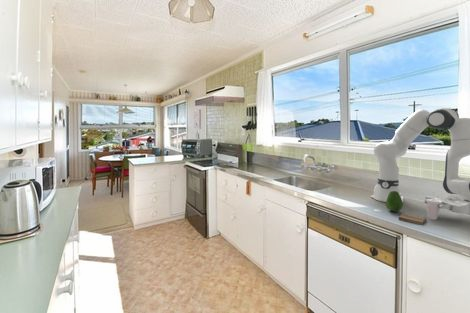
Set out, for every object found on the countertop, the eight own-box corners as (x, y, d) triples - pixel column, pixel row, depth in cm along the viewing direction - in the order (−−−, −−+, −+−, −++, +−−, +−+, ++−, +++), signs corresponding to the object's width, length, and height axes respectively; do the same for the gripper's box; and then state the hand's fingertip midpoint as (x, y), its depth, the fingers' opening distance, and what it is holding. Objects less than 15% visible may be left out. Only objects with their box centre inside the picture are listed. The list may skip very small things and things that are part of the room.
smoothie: (425, 215, 137) (427, 190, 136) (440, 218, 133) (442, 192, 132) (424, 218, 132) (427, 192, 131) (440, 221, 128) (442, 194, 127)
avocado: (388, 208, 149) (389, 188, 148) (403, 211, 143) (405, 191, 142) (383, 211, 143) (385, 190, 142) (399, 214, 138) (401, 193, 137)
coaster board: (403, 215, 137) (403, 212, 137) (425, 220, 130) (426, 217, 130) (398, 219, 130) (398, 216, 130) (422, 225, 123) (422, 222, 123)
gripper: (438, 192, 143) (416, 193, 142) (476, 203, 123) (451, 203, 122) (437, 203, 144) (415, 204, 143) (475, 215, 124) (449, 216, 122)
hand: (432, 204), depth 132 cm, fingers open, 7 cm apart
